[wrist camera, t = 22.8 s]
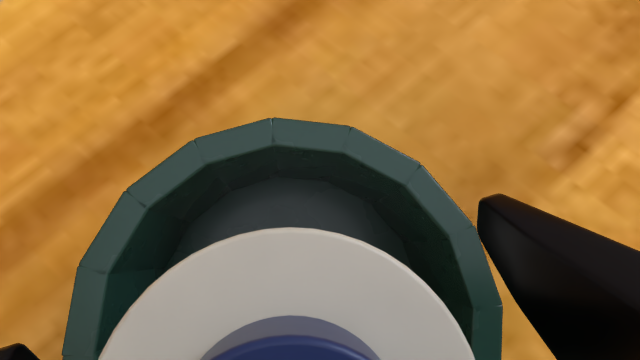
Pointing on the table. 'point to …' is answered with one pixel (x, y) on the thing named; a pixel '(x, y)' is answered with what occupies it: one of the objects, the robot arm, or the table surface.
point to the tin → (283, 221)
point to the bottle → (288, 305)
